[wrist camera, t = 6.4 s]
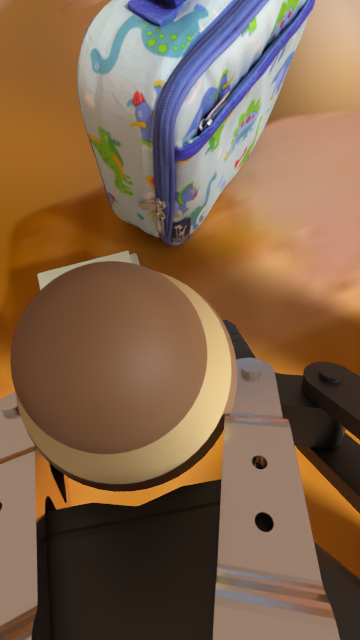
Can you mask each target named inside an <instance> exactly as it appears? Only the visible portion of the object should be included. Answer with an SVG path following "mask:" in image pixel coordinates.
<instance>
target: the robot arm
mask: <svg viewBox="0 0 360 640" xmlns="http://www.w3.org/2000/svg"><path fill="white" fill-rule="evenodd" d="M222 321H223V323H224V325H225V327H226V329H227V331H228V333H229V335H230V338H231V341H232V344H233V347H234V351H235V357H236V362H237V389H236V395H235V400H234V405H233V408H232V411H231V414H230V415H225V419H224V440H223V460H222V479H220V480H215V481H209V482H204V483H198V484H193V485H187V486H182V487H180V488H178V489H175V490H173V491H171V492H169V493H167V494H165V495H162V496H160V497H158V498H156V499H154V500H152V501H149V502H147V503H145V504H143V505H140V506H123V505H112V504H101V503H89V504H83V505H78V506H72V507H71V502H70V494H69V486H68V478H67V476H66V475H64V474H63V473H61V472H60V471H58V470H57V469H56V468H55V467H54V466H52V465H51V464H50V463H49V462H48V461H47V460H46V459H45V458H44V457H43V455H42V454H41V453H40V452H39V450H38V449H37V448H36V446H35V445H34V443H33V442H32V440H31V438H30V436H29V435H28V433H27V430H26V428H25V426H24V423H23V421H22V418H21V416H20V413H19V409H18V405H17V401H16V392H15V393H12V394H9V395H7V396H5V397H3V398H2V399H0V640H360V578H358V577H357V576H356V575H355V574H353V573H352V572H351V571H350V570H348V569H347V568H346V567H345V566H343V565H342V564H341V563H340V562H339V561H337V560H336V559H335V558H334V557H332V556H331V555H330V554H329V553H327V552H326V551H325V550H324V549H322V548H321V547H320V546H319V545H317V544H316V543H315V542H314V540H313V535H312V530H311V525H310V520H309V515H308V511H307V506H306V501H305V496H304V491H303V486H302V481H301V476H300V471H299V466H298V461H297V456H296V451H295V446H296V447H297V448H298V450H299V451H300V452H301V453H302V454H303V455H304V456H305V457H306V458H307V459H308V460H309V461H310V462H311V463H312V464H313V465H314V466H315V467H316V468H317V469H318V471H319V472H320V473H321V474H322V475H323V476H324V477H325V478H326V479H327V480H328V481H329V482H330V483H331V484H332V485H333V486H334V487H335V488H336V489H337V490H338V491H339V492H340V493H341V494H342V496H343V497H344V498H345V499H346V500H347V501H348V502H349V503H350V504H351V505H352V506H353V507H354V508H355V509H356V510H357V511H358V512H359V513H360V445H359V444H358V443H357V442H356V441H354V440H353V439H352V438H351V437H350V436H348V435H347V434H346V433H345V430H346V429H347V430H348V431H349V432H351V433H352V434H353V435H354V436H356V437H357V438H358V439H359V440H360V377H359V376H358V375H356V374H354V373H353V372H351V371H350V370H348V369H346V368H344V367H342V366H340V365H337V364H333V363H328V362H317V363H312V364H310V365H308V366H307V367H306V368H305V369H304V373H303V376H300V375H286V374H279V373H275V372H274V369H273V368H272V366H271V365H270V364H268V363H267V362H265V361H263V360H260V359H256V358H255V356H254V355H253V353H252V351H251V350H250V348H249V347H248V345H247V344H246V342H245V340H243V337H242V336H241V334H239V331H238V330H237V328H236V326H235V325H233V324H232V323H230V322H228V321H227V320H222ZM294 445H295V446H294Z"/></svg>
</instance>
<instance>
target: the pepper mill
mask: <svg viewBox="0 0 360 640" xmlns="http://www.w3.org/2000/svg"><path fill="white" fill-rule="evenodd" d="M11 373H12V380H13V384H14V388H15V392H16V401H17V405H18V409H19V413H20V416H21V418H22V421H23V423H24V426H25V428H26V430H27V433H28V435H29V436H30V438H31V440H32V442H33V443H34V445H35V446H36V448H37V449H38V450H39V452H40V453H41V454H42V455H43V457H44V458H45V459H46V460H47V461H48V462H49V463H50V464H51V465H52V466H54V467H55V468H56V469H57V470H58V471H60V472H61V473H63V474H64V475H66V476H67V477H69V478H71V479H73V480H75V481H77V482H79V483H81V484H83V485H86V486H90V487H93V488H97V489H101V490H108V491H136V490H142V489H148V488H151V487H154V486H158V485H161V484H164V483H166V482H168V481H170V480H172V479H174V478H176V477H178V476H180V475H181V474H183V473H184V472H186V471H187V470H189V469H190V468H192V467H193V466H194V465H195V464H196V463H197V462H198V461H200V460H201V459H202V458H203V457H204V456H205V455H206V454H207V452H208V451H209V450H210V449H211V448H212V447H213V445H214V444H215V442H216V441H217V439H218V438H219V436H220V435H221V433H222V432H223V430H224V419H225V415H230V414H231V411H232V408H233V405H234V400H235V395H236V389H237V362H236V357H235V351H234V347H233V344H232V341H231V338H230V335H229V333H228V331H227V329H226V327H225V325H224V323H223V321H222V320H221V318H220V317H219V315H218V313H217V312H216V311H215V310H214V308H213V307H212V306H211V305H210V304H209V303H208V302H207V301H206V300H205V299H204V298H203V297H202V296H201V295H200V294H199V293H197V292H196V291H194V290H193V289H192V288H190V287H189V286H187V285H185V284H184V283H182V282H180V281H178V280H177V279H175V278H173V277H170V276H168V275H165V274H163V273H159V272H156V271H154V270H151V269H149V268H146V267H144V266H140V265H136V264H133V263H128V262H120V261H104V262H95V263H90V264H86V265H83V266H80V267H77V268H74V269H72V270H69V271H67V272H65V273H63V274H62V275H60V276H58V277H57V278H55V279H54V280H52V281H51V282H50V283H48V284H47V285H46V286H45V287H43V288H42V289H41V290H40V291H39V292H38V293H37V294H36V295H35V297H34V298H33V299H32V300H31V302H30V303H29V304H28V306H27V307H26V309H25V311H24V312H23V314H22V316H21V318H20V320H19V322H18V324H17V327H16V330H15V333H14V336H13V341H12V347H11Z"/></svg>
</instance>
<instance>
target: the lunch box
mask: <svg viewBox="0 0 360 640" xmlns="http://www.w3.org/2000/svg"><path fill="white" fill-rule="evenodd" d="M314 3H315V0H112V1H110V2H109V3H108V4H107V5H106V6H105V7H104V8H103V9H102V10H101V11H100V12H99V13H98V14H97V15H96V17H95V18H94V19H93V20H92V21H91V23H90V25H89V27H88V29H87V31H86V33H85V36H84V38H83V41H82V46H81V50H80V54H79V59H78V68H77V87H78V97H79V102H80V107H81V112H82V116H83V119H84V123H85V127H86V130H87V133H88V137H89V140H90V143H91V146H92V149H93V152H94V155H95V158H96V161H97V164H98V167H99V170H100V173H101V177H102V180H103V183H104V187H105V191H106V194H107V197H108V200H109V203H110V205H111V207H112V209H113V211H114V213H115V215H116V216H117V217H118V218H120V219H121V220H123V221H125V222H128V223H130V224H132V225H134V226H136V227H138V228H140V229H142V230H143V231H144V232H146V233H148V234H150V235H152V236H154V237H156V238H161V239H162V241H163V242H164V243H165V244H168V245H171V246H179V245H181V244H183V243H184V242H185V241H186V240H187V239H188V238H189V237H190V236H191V235H192V233H193V232H194V231H195V230H196V229H197V228H198V227H199V226H200V225H201V223H202V222H203V220H204V219H205V217H206V216H207V214H208V213H209V211H210V209H211V208H212V206H213V204H214V203H215V201H216V200H217V198H218V196H219V195H220V193H221V192H222V190H223V189H224V187H225V186H226V185H227V184H228V183H229V182H230V181H231V180H232V178H233V177H234V176H235V175H236V173H237V172H238V170H239V169H240V167H241V166H242V164H243V163H244V162H245V160H246V159H247V157H248V156H249V154H250V153H251V152H252V150H253V148H254V147H255V145H256V142H257V140H258V138H259V136H260V135H261V133H262V131H263V129H264V127H265V124H266V122H267V120H268V118H269V116H270V113H271V111H272V109H273V106H274V104H275V101H276V99H277V97H278V94H279V92H280V89H281V87H282V84H283V81H284V78H285V75H286V73H287V70H288V68H289V65H290V63H291V60H292V58H293V55H294V53H295V50H296V48H297V46H298V43H299V41H300V38H301V36H302V33H303V30H304V28H305V25H306V22H307V20H308V17H309V14H310V12H311V10H312V8H313V6H314Z"/></svg>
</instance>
